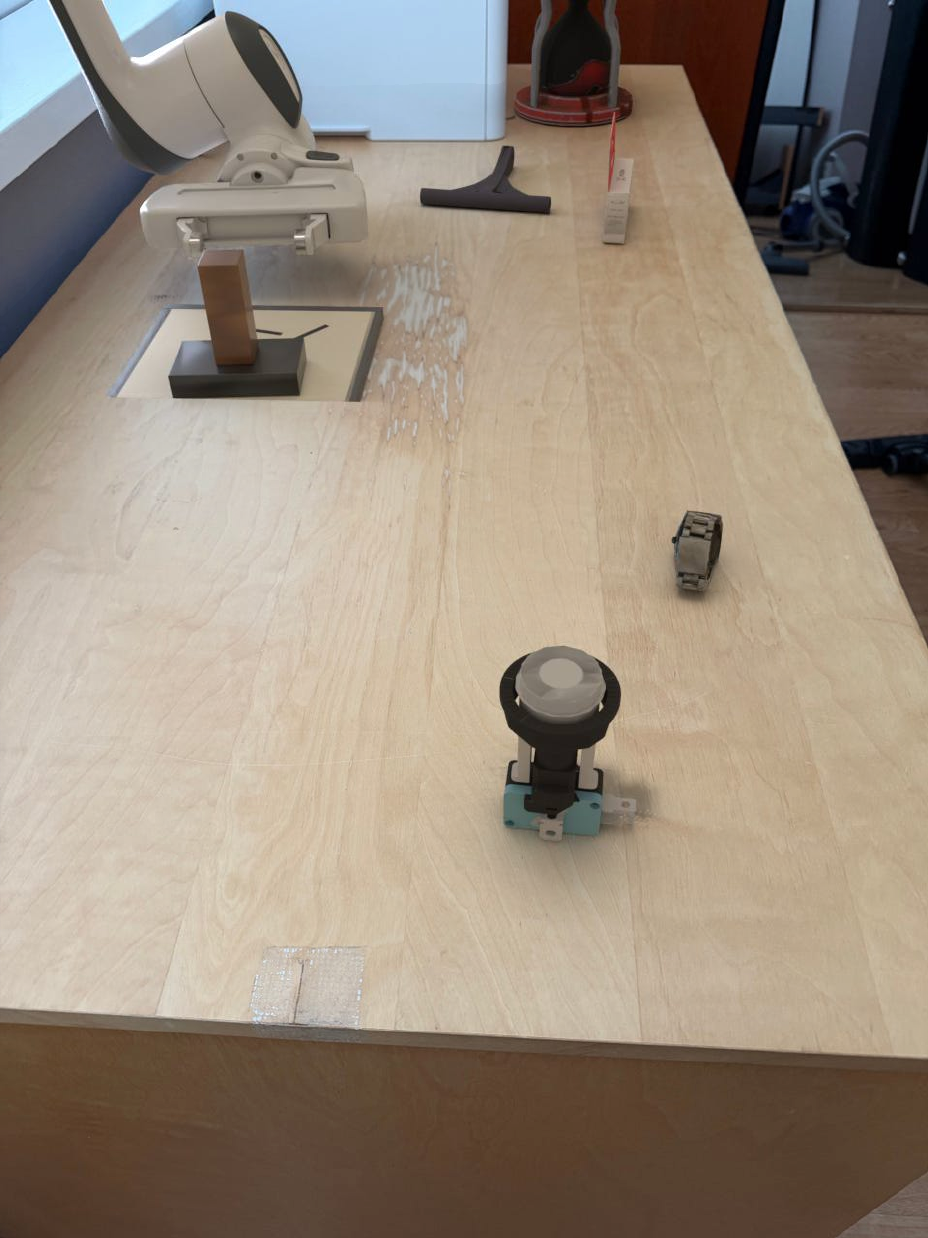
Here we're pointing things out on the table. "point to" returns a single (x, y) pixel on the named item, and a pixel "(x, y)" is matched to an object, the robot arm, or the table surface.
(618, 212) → the ink cartridge box
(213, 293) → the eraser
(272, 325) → the whiteboard
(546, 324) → the table surface
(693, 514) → the wristwatch
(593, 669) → the push button
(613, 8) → the hourglass
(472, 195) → the squeegee
